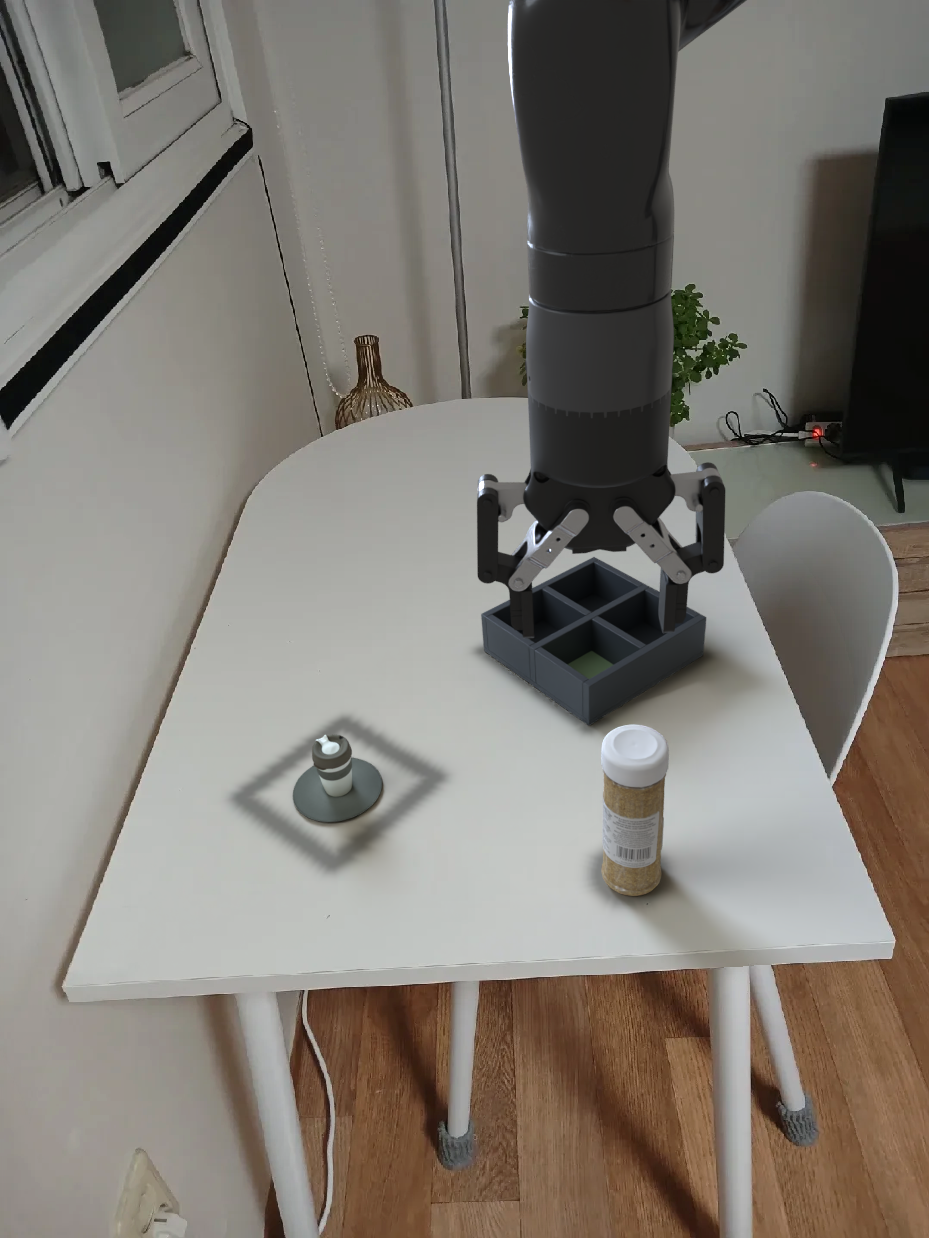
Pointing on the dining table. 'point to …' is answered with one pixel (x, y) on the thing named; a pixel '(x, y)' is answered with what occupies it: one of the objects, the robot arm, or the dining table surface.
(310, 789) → the coffee cup
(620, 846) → the sprinkles bottle
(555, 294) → the robot arm
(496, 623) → the divided storage tray
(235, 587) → the dining table surface
